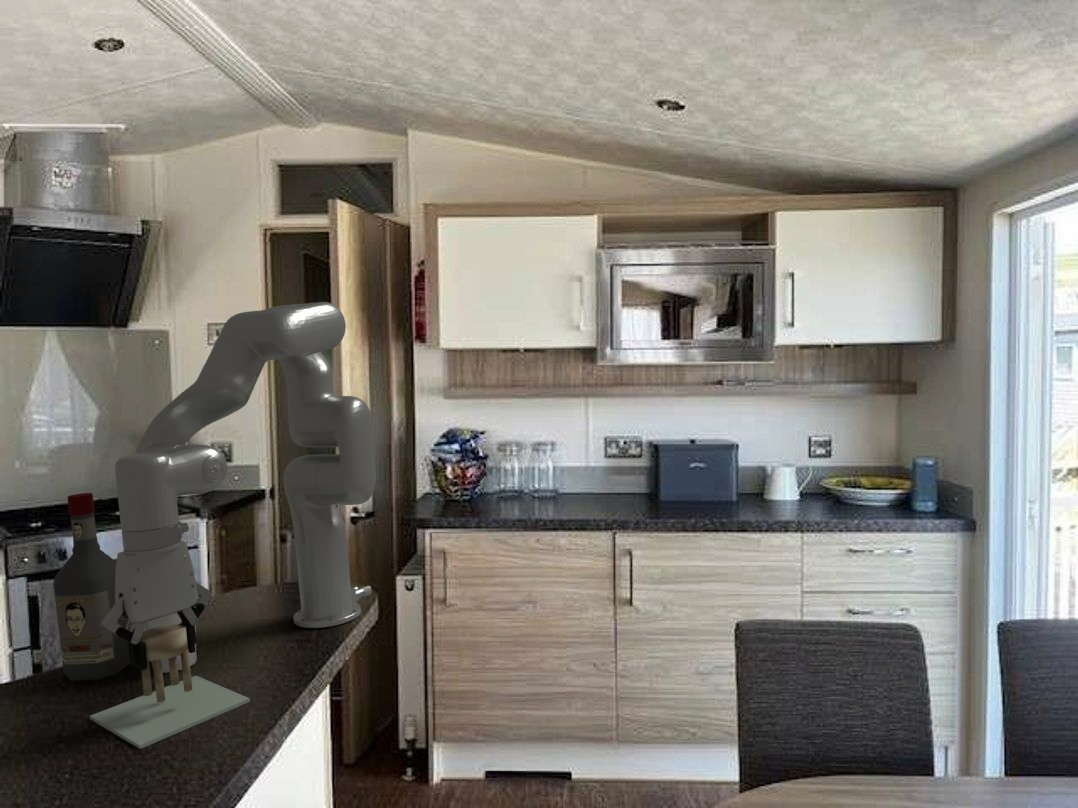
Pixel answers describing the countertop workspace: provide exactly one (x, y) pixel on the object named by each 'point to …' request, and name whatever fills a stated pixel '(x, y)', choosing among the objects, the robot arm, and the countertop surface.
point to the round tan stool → (166, 646)
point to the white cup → (170, 620)
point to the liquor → (87, 602)
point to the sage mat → (168, 711)
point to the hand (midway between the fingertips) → (164, 658)
